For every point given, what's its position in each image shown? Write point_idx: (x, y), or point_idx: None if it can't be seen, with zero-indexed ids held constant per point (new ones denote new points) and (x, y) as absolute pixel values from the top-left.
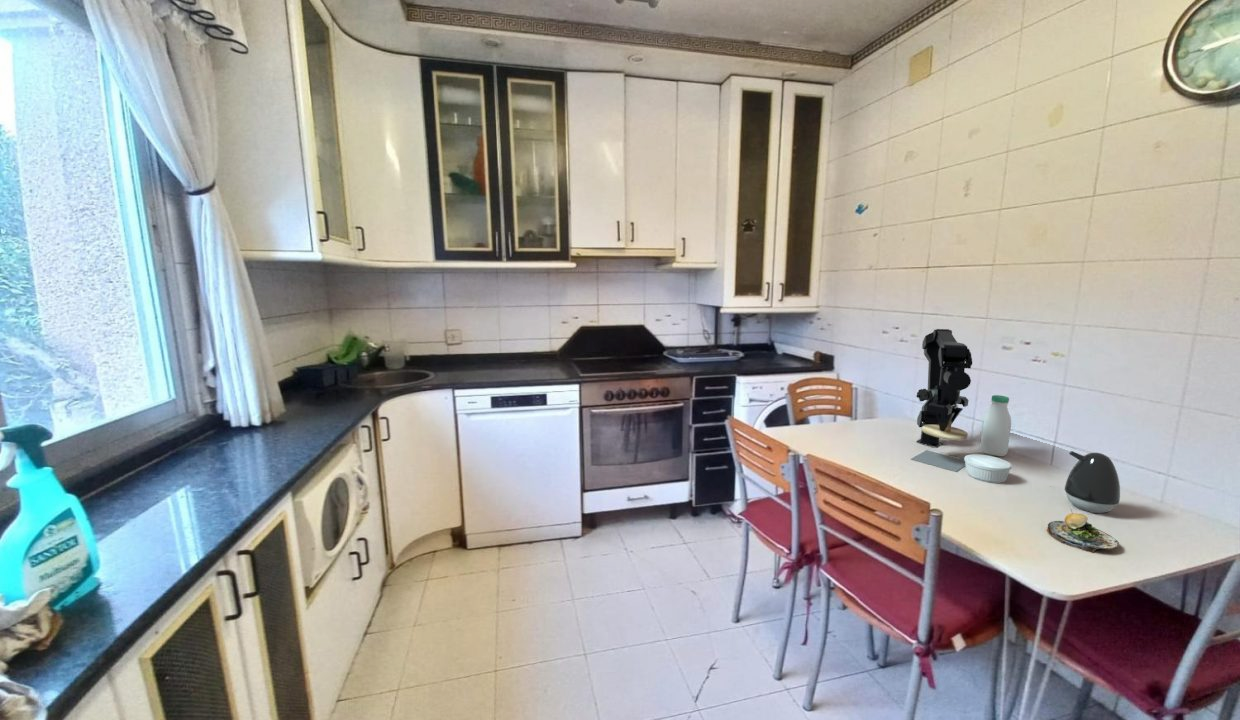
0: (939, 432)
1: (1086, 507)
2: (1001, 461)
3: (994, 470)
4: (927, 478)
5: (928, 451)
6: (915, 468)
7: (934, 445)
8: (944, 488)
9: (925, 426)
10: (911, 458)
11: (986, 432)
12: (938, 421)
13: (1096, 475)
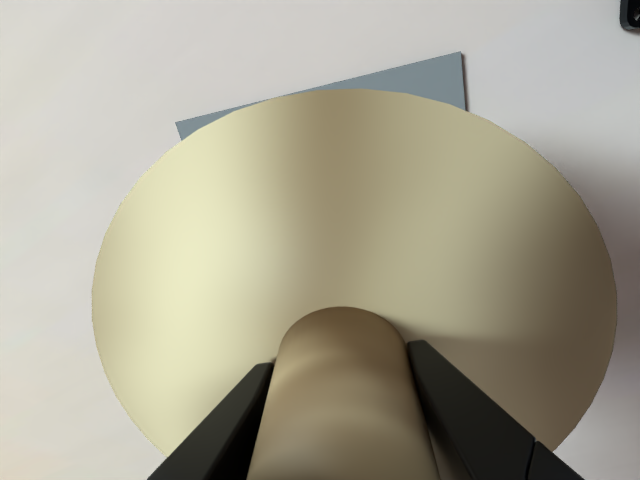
0: (201, 376)
1: None
2: None
3: None
4: (47, 326)
5: (439, 80)
6: (87, 228)
7: (629, 14)
8: (39, 404)
9: (270, 141)
10: (181, 122)
11: None
12: (155, 475)
13: None
